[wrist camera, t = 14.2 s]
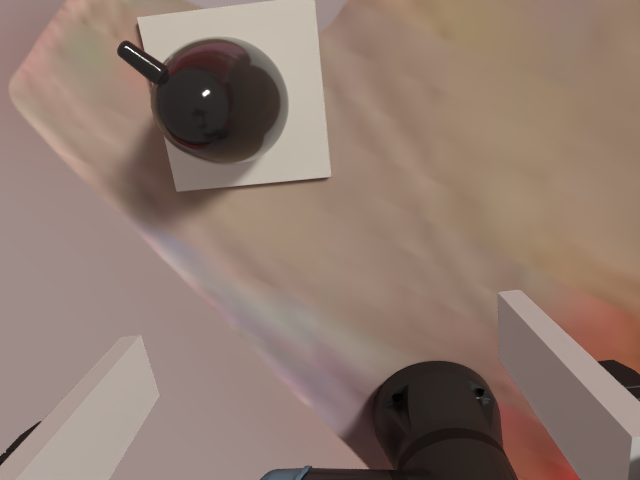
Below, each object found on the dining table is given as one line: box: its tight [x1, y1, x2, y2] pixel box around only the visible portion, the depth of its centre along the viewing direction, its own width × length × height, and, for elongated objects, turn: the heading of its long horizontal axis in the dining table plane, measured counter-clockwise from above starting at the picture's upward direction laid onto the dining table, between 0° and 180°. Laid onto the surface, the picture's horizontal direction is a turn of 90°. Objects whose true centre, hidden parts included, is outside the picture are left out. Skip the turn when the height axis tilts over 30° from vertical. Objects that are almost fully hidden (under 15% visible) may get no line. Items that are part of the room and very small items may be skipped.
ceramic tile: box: [137, 0, 331, 192], centre depth 39 cm, size 16×16×1 cm
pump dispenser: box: [117, 36, 289, 165], centre depth 31 cm, size 10×10×15 cm
